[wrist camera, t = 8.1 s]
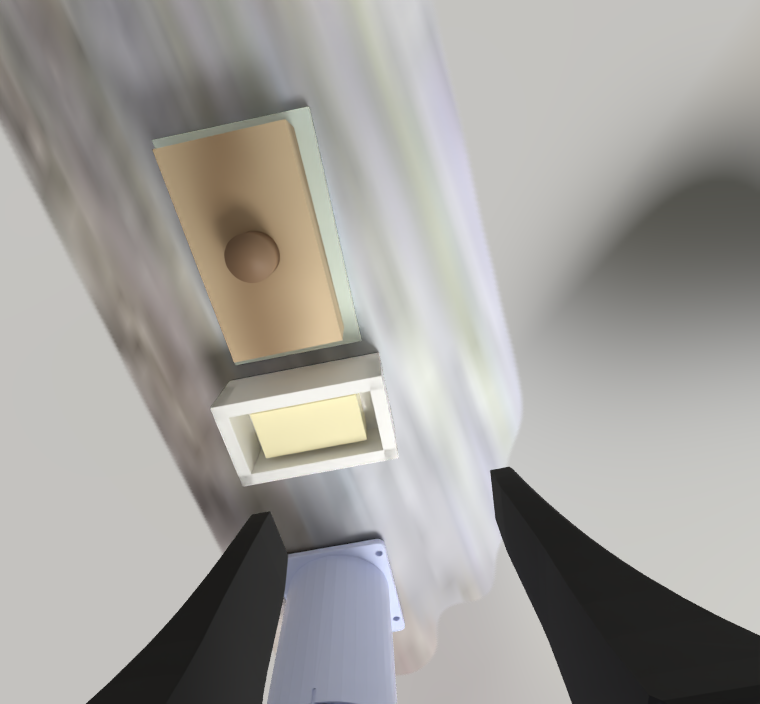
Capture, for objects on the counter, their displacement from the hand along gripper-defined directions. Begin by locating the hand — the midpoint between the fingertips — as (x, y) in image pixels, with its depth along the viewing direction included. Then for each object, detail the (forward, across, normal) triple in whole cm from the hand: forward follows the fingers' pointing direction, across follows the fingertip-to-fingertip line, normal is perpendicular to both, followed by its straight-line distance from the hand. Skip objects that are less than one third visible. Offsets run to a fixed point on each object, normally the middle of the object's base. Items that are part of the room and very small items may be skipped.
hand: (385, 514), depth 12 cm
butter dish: (+10, +4, +1) cm, 11 cm away
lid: (+10, +4, -8) cm, 13 cm away
